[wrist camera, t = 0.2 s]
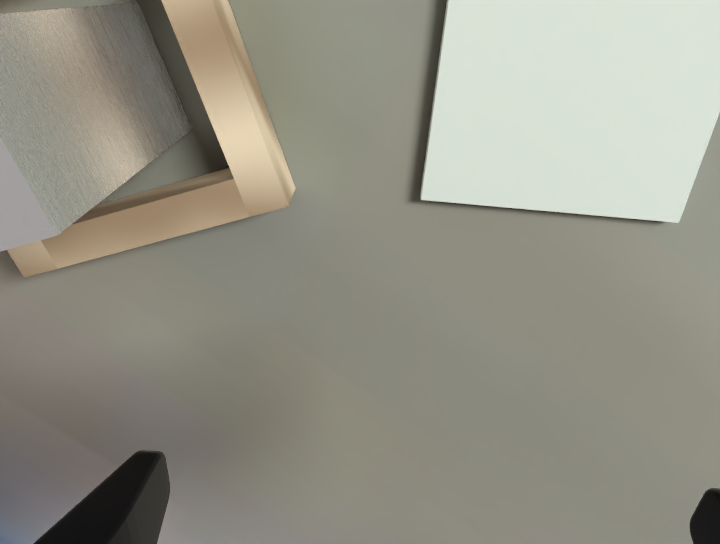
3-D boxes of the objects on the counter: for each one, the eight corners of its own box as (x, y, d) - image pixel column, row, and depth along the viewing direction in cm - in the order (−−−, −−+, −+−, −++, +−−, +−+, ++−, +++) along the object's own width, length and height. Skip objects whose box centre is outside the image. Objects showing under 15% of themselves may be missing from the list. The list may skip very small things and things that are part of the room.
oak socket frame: (295, 188, 22) (287, 206, 20) (50, 255, 24) (24, 277, 22) (177, -141, 17) (154, -154, 16) (-118, -27, 19) (-169, -28, 17)
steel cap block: (192, 129, 21) (57, 235, 12) (75, 164, 22) (-131, 288, 13) (138, 2, 19) (-68, 20, 10) (12, 45, 20) (-280, 97, 11)
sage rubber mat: (672, 217, 22) (678, 222, 22) (420, 195, 22) (420, 199, 22) (780, -80, 18) (790, -81, 17) (462, -110, 18) (464, -112, 17)
